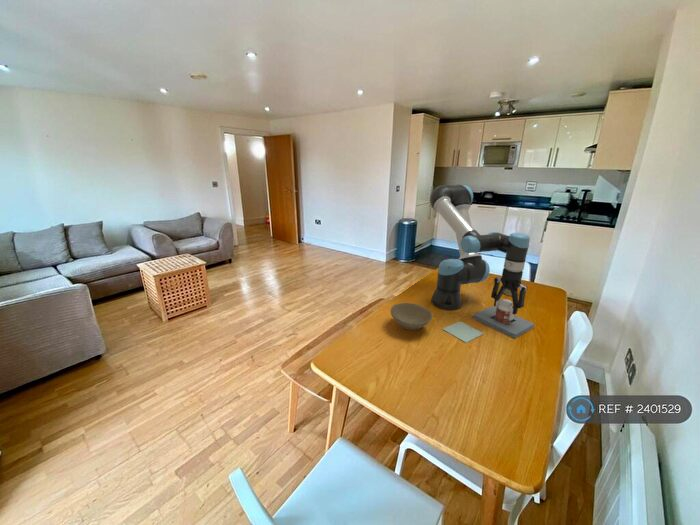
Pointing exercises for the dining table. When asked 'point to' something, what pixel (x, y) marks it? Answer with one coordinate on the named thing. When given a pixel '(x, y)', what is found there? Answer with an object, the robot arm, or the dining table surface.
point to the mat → (463, 331)
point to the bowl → (411, 315)
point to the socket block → (512, 329)
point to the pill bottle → (504, 311)
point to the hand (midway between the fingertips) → (503, 316)
